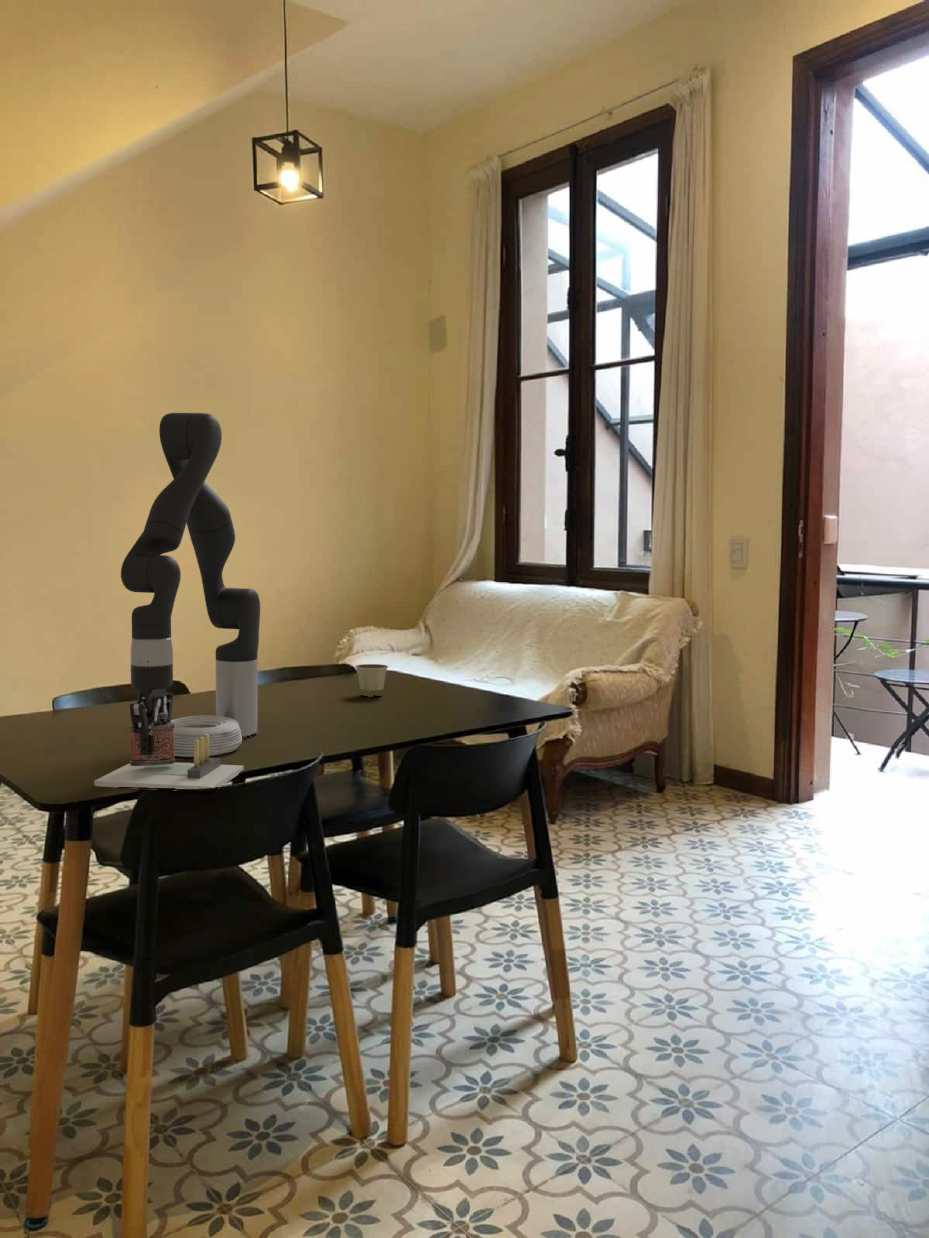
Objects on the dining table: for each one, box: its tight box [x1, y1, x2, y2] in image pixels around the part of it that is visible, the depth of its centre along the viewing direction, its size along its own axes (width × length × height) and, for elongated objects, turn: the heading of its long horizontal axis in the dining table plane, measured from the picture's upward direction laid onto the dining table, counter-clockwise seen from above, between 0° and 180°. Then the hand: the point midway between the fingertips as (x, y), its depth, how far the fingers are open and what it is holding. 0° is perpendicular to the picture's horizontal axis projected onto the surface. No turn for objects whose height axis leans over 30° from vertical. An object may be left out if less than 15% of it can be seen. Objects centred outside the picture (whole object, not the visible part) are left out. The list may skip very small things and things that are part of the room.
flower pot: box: [354, 663, 389, 691], centre depth 276 cm, size 9×9×9 cm
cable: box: [170, 714, 243, 758], centre depth 205 cm, size 18×18×6 cm
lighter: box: [129, 712, 176, 766], centre depth 183 cm, size 8×3×10 cm, turn 108°
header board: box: [94, 734, 245, 789], centre depth 180 cm, size 16×22×8 cm
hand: (152, 751), depth 183 cm, fingers closed on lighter, 4 cm apart
